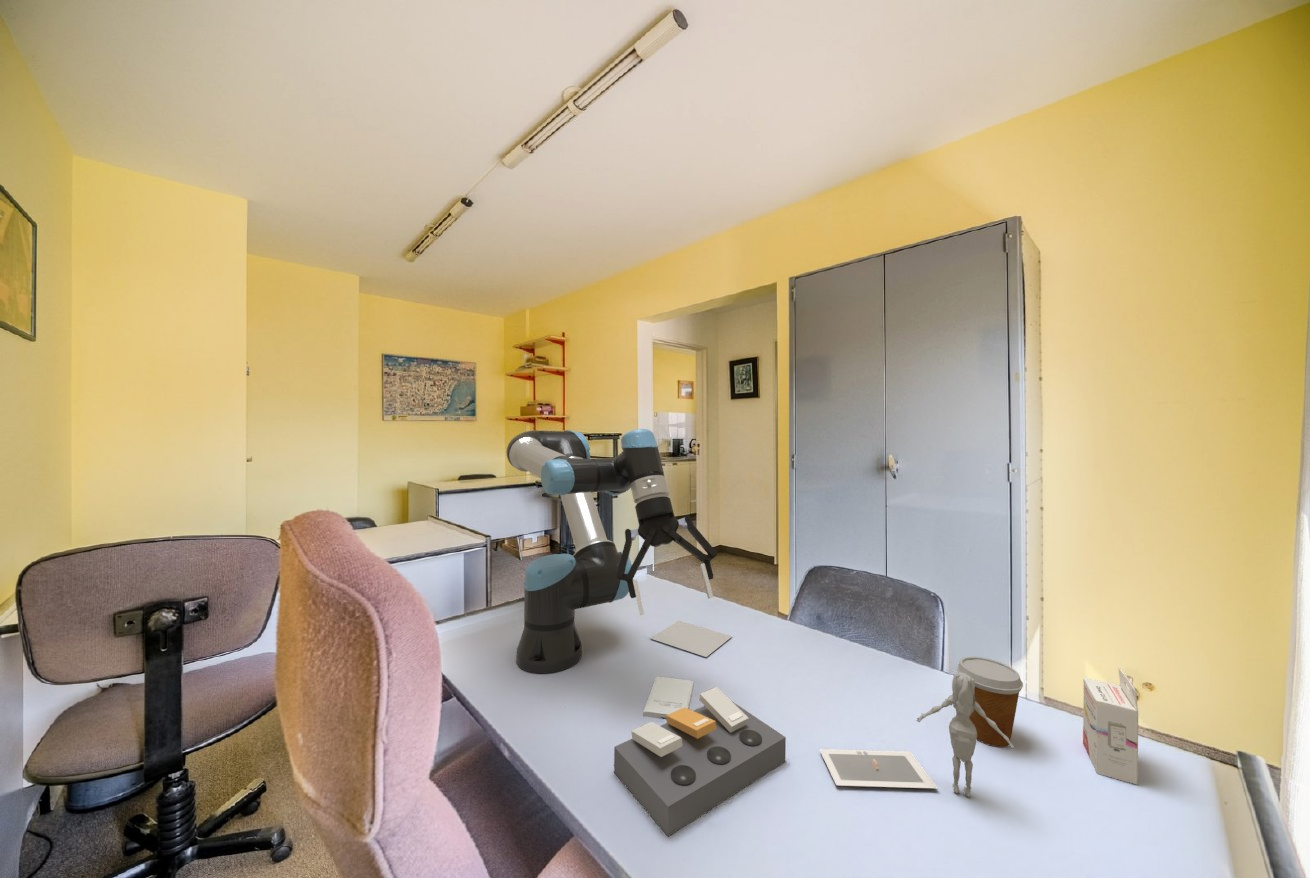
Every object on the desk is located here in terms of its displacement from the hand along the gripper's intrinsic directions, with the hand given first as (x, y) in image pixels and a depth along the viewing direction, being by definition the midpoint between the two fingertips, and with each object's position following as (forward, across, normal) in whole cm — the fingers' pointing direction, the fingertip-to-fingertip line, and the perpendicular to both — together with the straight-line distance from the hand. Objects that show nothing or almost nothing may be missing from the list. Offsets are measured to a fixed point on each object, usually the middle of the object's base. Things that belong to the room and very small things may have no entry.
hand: (676, 606), depth 87 cm
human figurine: (+35, +34, -11) cm, 50 cm away
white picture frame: (+31, +24, -7) cm, 40 cm away
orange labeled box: (+19, -2, -6) cm, 20 cm away
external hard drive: (+17, -5, +11) cm, 21 cm away
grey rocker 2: (+19, +4, -2) cm, 19 cm away
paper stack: (+10, +10, +38) cm, 40 cm away
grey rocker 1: (+19, -8, -10) cm, 23 cm away
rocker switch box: (+24, -2, -6) cm, 25 cm away
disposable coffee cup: (+33, +49, +1) cm, 59 cm away
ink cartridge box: (+39, +63, -5) cm, 74 cm away
